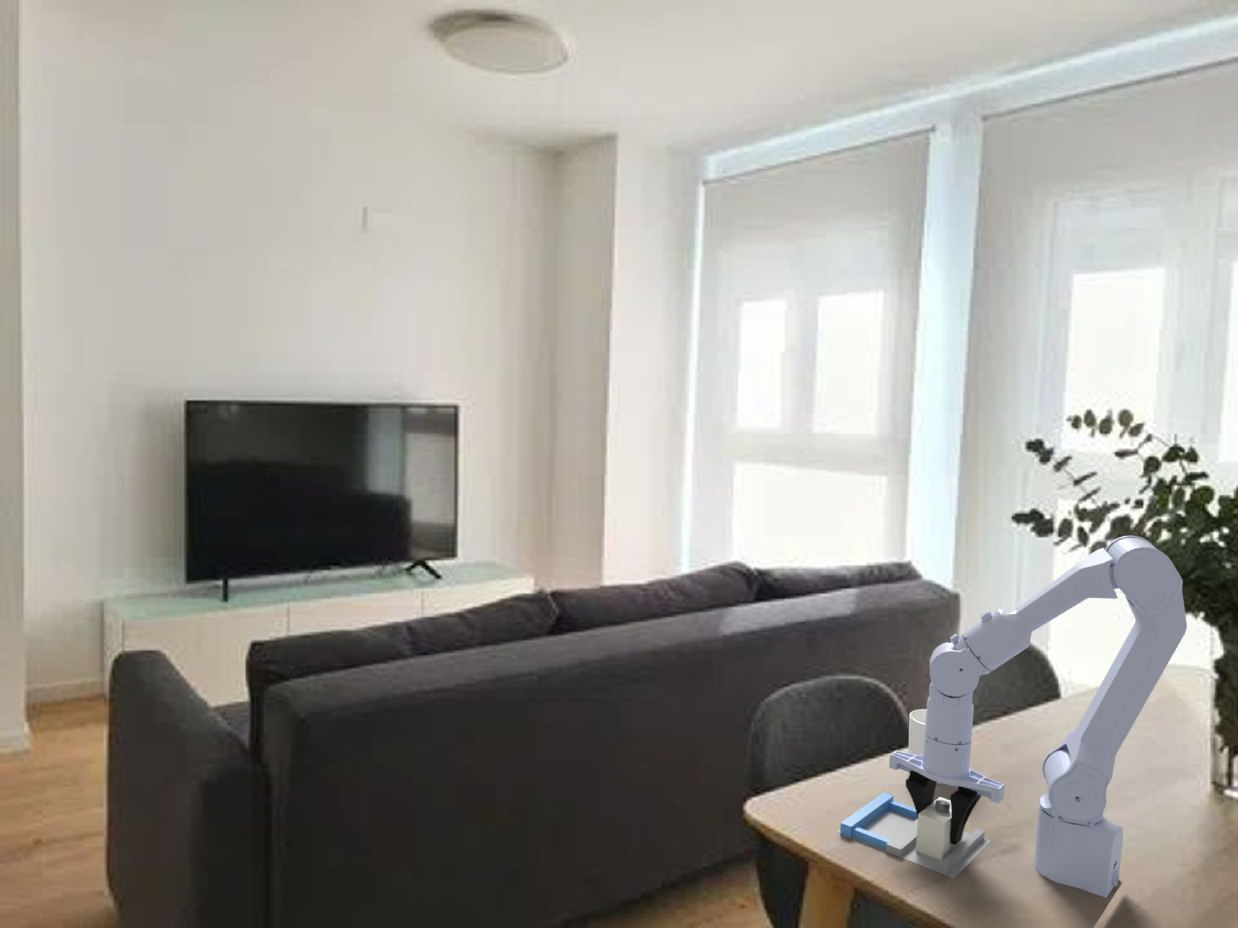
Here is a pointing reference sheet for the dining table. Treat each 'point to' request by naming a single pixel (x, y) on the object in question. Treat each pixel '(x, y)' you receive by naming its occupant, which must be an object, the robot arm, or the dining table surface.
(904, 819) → the board
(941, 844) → the white knob-topped box
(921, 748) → the white cup
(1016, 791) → the dining table surface
